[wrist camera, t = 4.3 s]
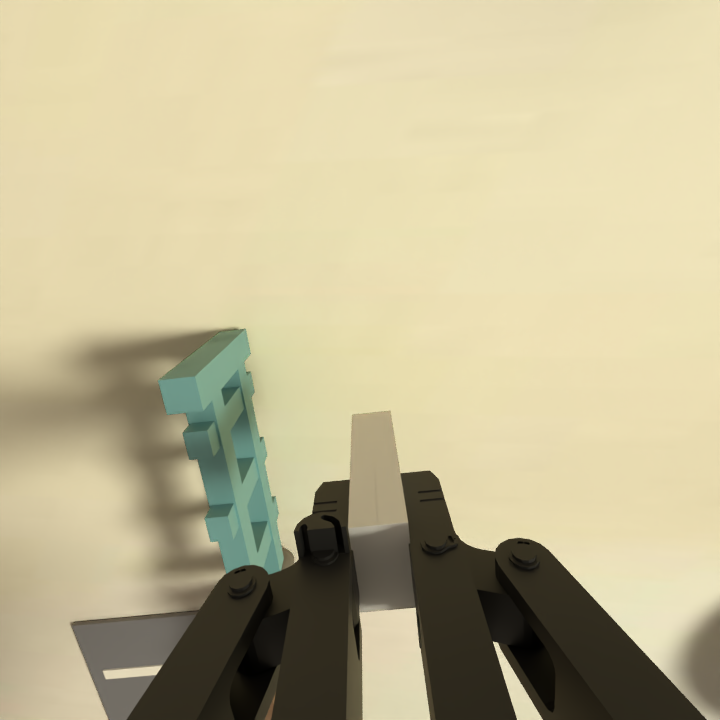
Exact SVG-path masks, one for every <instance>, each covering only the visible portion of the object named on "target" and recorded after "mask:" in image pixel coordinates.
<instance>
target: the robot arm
mask: <svg viewBox="0 0 720 720" xmlns="http://www.w3.org/2000/svg"><path fill="white" fill-rule="evenodd" d="M312 513H313V514H312V515H310V516H308V517H306V518H304V519H303V520H301V521H300V522H299V523H298V524H297V526H296V528H295V530H294V535H295V540H296V545H297V551H298V556H299V560H298V561H297V562H296V563H294V564H293V565H291V566H290V567H288V568H286V569H283V570H281V571H278V572H275V573H272V574H270V575H268V572H267V571H266V570H265V569H264V568H263V567H260V566H257V565H244V566H241V567H238V568H235V569H233V570H232V571H230V572H229V573H227V574H225V575H224V576H223V577H222V579H221V580H220V581H219V582H218V583H217V585H216V586H215V588H214V589H213V591H212V592H211V594H210V595H209V597H208V598H207V600H206V601H205V603H204V604H203V606H202V607H201V609H200V610H199V612H198V613H197V615H196V616H195V618H194V619H193V621H192V622H191V624H190V625H189V627H188V628H187V630H186V631H185V633H184V634H183V636H182V637H181V639H180V640H179V642H178V643H177V645H176V646H175V648H174V649H173V651H172V652H171V654H170V655H169V657H168V658H167V660H166V661H165V663H164V664H163V666H162V667H161V669H160V670H159V672H158V673H157V675H156V676H155V678H154V679H153V681H152V682H151V684H150V685H149V687H148V688H147V690H146V691H145V693H144V694H143V696H142V697H141V699H140V700H139V702H138V703H137V705H136V706H135V708H134V709H133V711H132V712H131V714H130V715H129V717H128V718H127V720H265V718H266V715H267V713H268V710H269V708H270V705H271V703H272V700H273V698H274V695H275V700H274V706H273V712H272V717H271V720H362V630H361V623H360V616H359V605H360V612H371V611H382V610H393V609H404V608H415V607H416V615H417V625H418V635H419V645H420V648H421V654H422V661H423V668H424V675H425V683H426V690H427V697H428V704H429V711H430V719H431V720H517V718H516V715H515V712H514V709H513V705H512V702H511V699H510V696H509V692H508V689H507V686H506V683H505V680H504V676H503V673H502V670H501V667H500V663H499V660H498V657H497V654H496V651H495V647H494V644H493V642H498V643H499V646H500V649H501V650H502V652H503V654H504V655H505V657H506V659H507V660H508V662H509V664H510V665H511V667H512V669H513V670H514V672H515V674H516V675H517V677H518V679H519V680H520V682H521V684H522V685H523V687H524V689H525V690H526V692H527V694H528V695H529V697H530V699H531V700H532V702H533V704H534V705H535V707H536V709H537V710H538V712H539V714H540V715H541V717H542V719H543V720H706V718H705V717H704V716H703V715H702V714H701V713H700V712H699V711H698V710H697V709H696V708H695V707H694V706H693V705H692V703H691V702H690V701H689V700H688V699H687V698H686V697H685V696H684V695H683V694H682V693H681V692H680V691H679V690H678V688H677V687H676V686H675V685H674V684H673V683H672V682H671V681H670V680H669V679H668V678H667V677H666V676H665V675H664V673H663V672H662V671H661V670H660V669H659V668H658V667H657V666H656V665H655V664H654V663H653V662H652V661H651V660H650V658H649V657H648V656H647V655H646V654H645V653H644V652H643V651H642V650H641V649H640V648H639V647H638V646H637V645H636V643H635V642H634V641H633V640H632V639H631V638H630V637H629V636H628V635H627V634H626V633H625V632H624V631H623V630H622V628H621V627H620V626H619V625H618V624H617V623H616V622H615V621H614V620H613V619H612V618H611V617H610V616H609V615H608V613H607V612H606V611H605V610H604V609H603V608H602V607H601V606H600V605H599V604H598V603H597V602H596V601H595V600H594V598H593V597H592V596H591V595H590V594H589V593H588V592H587V591H586V590H585V589H584V588H583V587H582V586H581V584H580V583H579V582H578V581H577V580H576V579H575V578H574V577H573V576H572V575H571V574H570V573H569V572H568V571H567V569H566V568H565V567H564V566H563V565H562V564H561V563H560V562H559V561H558V560H557V559H556V558H555V557H554V556H553V554H552V553H551V552H550V551H549V550H548V549H546V548H545V547H544V546H542V545H541V544H540V543H537V542H535V541H532V540H530V539H523V538H514V539H508V540H506V541H504V542H502V543H500V544H499V546H498V547H497V548H496V552H494V551H487V550H481V549H477V548H474V547H471V546H469V545H467V544H465V543H464V542H463V541H461V540H460V538H459V537H458V535H457V534H456V533H455V531H454V528H453V525H452V522H451V518H450V515H449V512H448V508H447V505H446V502H445V499H444V495H443V492H442V488H441V485H440V482H439V479H438V478H437V477H436V476H435V475H434V474H433V473H432V472H431V471H420V472H410V473H400V468H399V462H398V455H397V449H396V443H395V437H394V430H393V424H392V418H391V412H390V411H383V412H373V413H364V414H354V415H352V431H351V459H350V480H342V481H332V482H323V483H322V485H321V486H320V487H319V488H318V490H317V491H316V492H315V498H314V505H313V511H312ZM275 693H276V694H275Z"/></svg>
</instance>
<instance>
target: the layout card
mask: <svg viewBox="0 0 720 720" xmlns="http://www.w3.org/2000/svg"><path fill="white" fill-rule="evenodd" d="M198 612H199V611H191V612H180V613H169V614H158V615H148V616H137V617H126V618H115V619H104V620H93V621H82V622H74V623H73V625H72V628H73V631H74V633H75V636H76V638H77V641H78V643H79V646H80V648H81V651H82V653H83V656H84V658H85V661H86V663H87V666H88V668H89V671H90V673H91V676H92V678H93V681H94V683H95V686H96V688H97V691H98V693H99V696H100V698H101V701H102V703H103V706H104V708H105V711H106V713H107V716H108V718H109V720H127V718H128V717H129V715H130V714H131V712H132V711H133V709H134V708H135V706H136V705H137V703H138V702H139V700H140V699H141V697H142V696H143V694H144V693H145V691H146V690H147V688H148V687H149V685H150V684H151V682H152V681H153V679H154V678H155V676H156V675H157V673H158V672H159V670H160V669H161V667H162V666H163V664H164V663H165V661H166V660H167V658H168V657H169V655H170V654H171V652H172V651H173V649H174V648H175V646H176V645H177V643H178V642H179V640H180V639H181V637H182V636H183V634H184V633H185V631H186V630H187V628H188V627H189V625H190V624H191V622H192V621H193V619H194V618H195V616H196V615H197V613H198Z"/></svg>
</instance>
